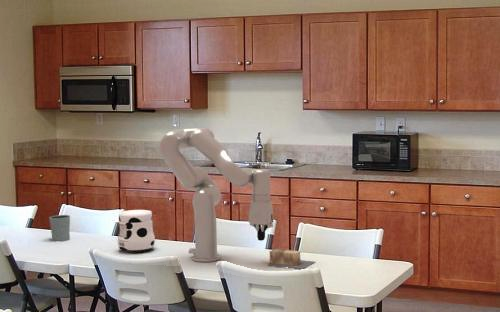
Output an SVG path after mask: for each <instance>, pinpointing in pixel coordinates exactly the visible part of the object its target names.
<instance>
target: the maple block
mask: <svg viewBox="0 0 500 312" xmlns="http://www.w3.org/2000/svg"><path fill="white" fill-rule="evenodd" d="M300 260H301V251H299V250H291V249H279V248H273V249H272V250H269V264H271V263H276V264H286V265H297V264H299V263H300Z"/></svg>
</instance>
